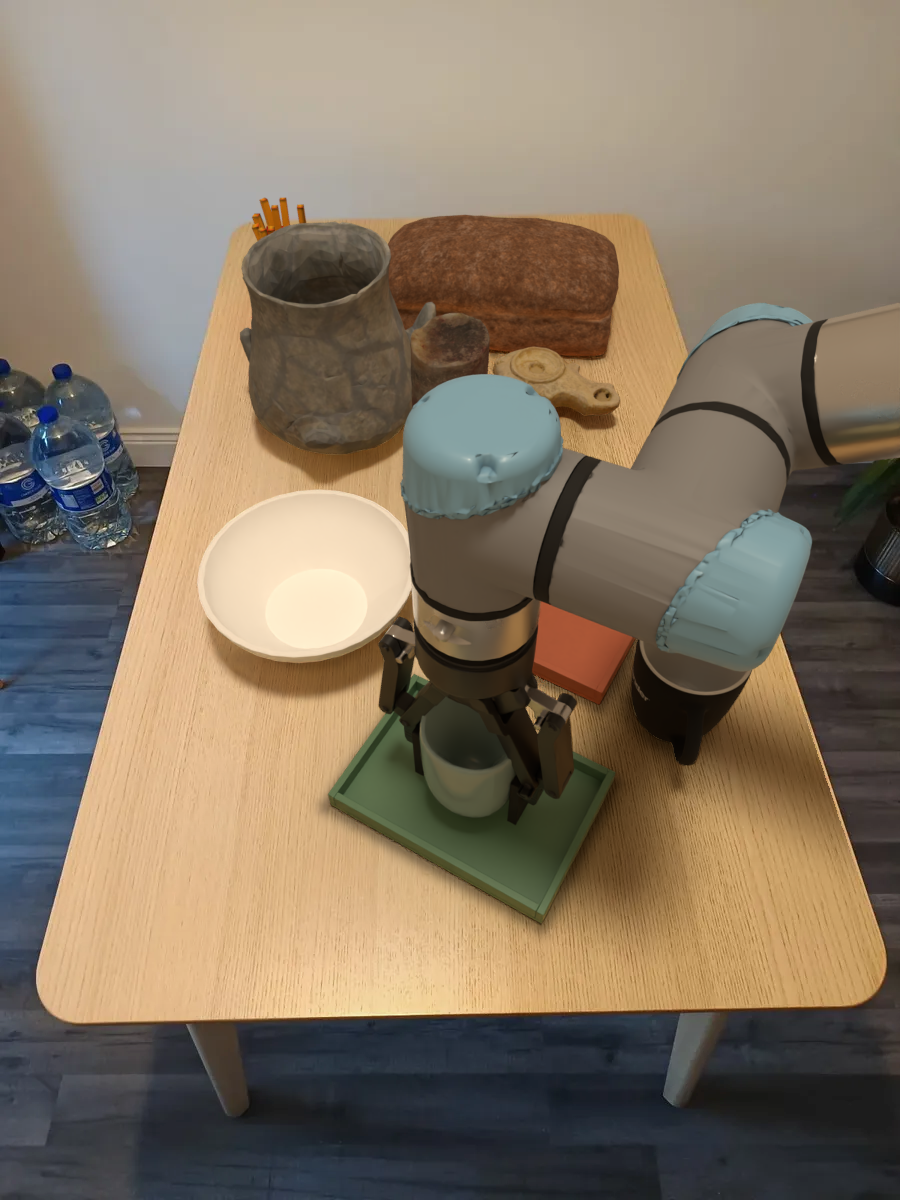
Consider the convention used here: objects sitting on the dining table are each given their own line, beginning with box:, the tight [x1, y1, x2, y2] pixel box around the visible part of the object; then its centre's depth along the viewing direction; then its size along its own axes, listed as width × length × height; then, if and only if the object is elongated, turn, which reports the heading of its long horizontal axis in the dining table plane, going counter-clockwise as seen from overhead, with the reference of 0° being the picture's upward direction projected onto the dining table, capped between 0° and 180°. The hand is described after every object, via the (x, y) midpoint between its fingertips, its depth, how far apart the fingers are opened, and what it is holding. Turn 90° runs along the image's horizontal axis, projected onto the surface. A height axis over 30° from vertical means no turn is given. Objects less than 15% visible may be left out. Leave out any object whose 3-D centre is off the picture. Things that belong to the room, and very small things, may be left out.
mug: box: [630, 639, 754, 767], centre depth 70 cm, size 12×9×10 cm
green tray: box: [327, 673, 616, 924], centre depth 70 cm, size 19×13×2 cm
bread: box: [387, 214, 620, 357], centre depth 107 cm, size 17×29×11 cm, turn 82°
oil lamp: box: [492, 347, 621, 417], centre depth 99 cm, size 11×14×5 cm
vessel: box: [239, 221, 436, 456], centre depth 91 cm, size 22×22×20 cm
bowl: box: [196, 488, 412, 664], centre depth 80 cm, size 20×20×7 cm
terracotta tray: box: [532, 602, 637, 705], centre depth 82 cm, size 17×16×2 cm
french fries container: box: [251, 197, 307, 242], centre depth 106 cm, size 7×9×14 cm
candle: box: [410, 313, 490, 408], centre depth 84 cm, size 8×7×20 cm
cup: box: [420, 697, 516, 818], centre depth 66 cm, size 8×8×10 cm
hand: (472, 784), depth 69 cm, fingers closed on cup, 8 cm apart
